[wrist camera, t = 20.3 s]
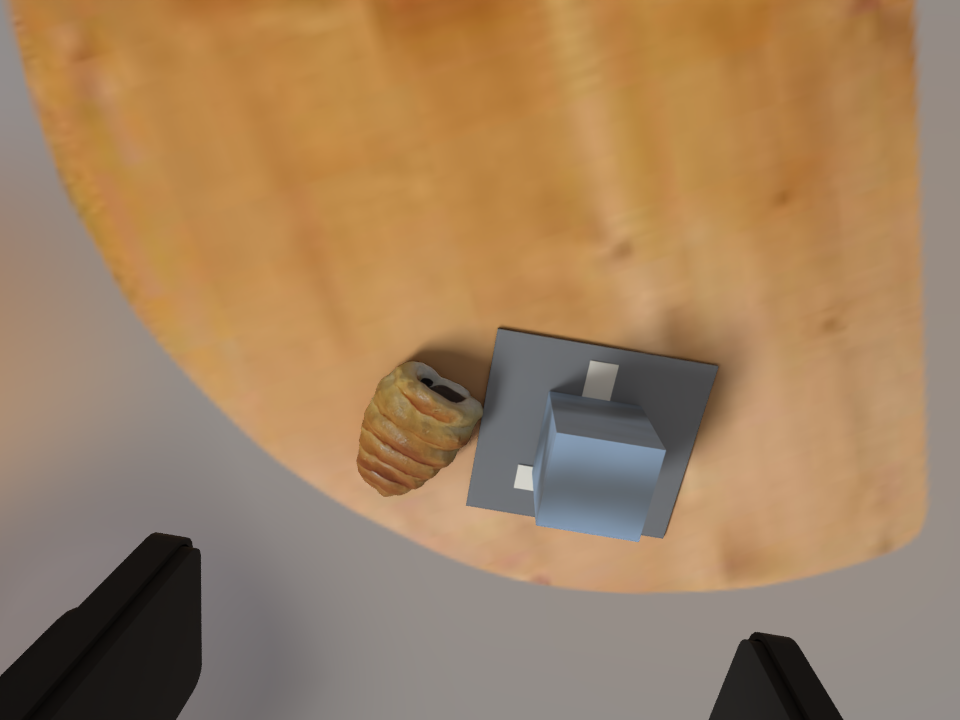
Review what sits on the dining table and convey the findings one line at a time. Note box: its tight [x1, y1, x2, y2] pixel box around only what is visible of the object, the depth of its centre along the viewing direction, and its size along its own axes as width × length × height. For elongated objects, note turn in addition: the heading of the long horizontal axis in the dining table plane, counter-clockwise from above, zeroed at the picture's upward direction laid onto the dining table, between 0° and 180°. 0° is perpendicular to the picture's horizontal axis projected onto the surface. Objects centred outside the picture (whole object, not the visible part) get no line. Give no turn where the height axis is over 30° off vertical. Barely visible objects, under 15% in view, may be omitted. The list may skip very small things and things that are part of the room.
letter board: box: [466, 328, 718, 539], centre depth 37 cm, size 13×14×1 cm
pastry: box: [357, 361, 483, 497], centre depth 36 cm, size 9×7×4 cm
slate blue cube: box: [532, 391, 666, 542], centre depth 34 cm, size 6×6×6 cm
